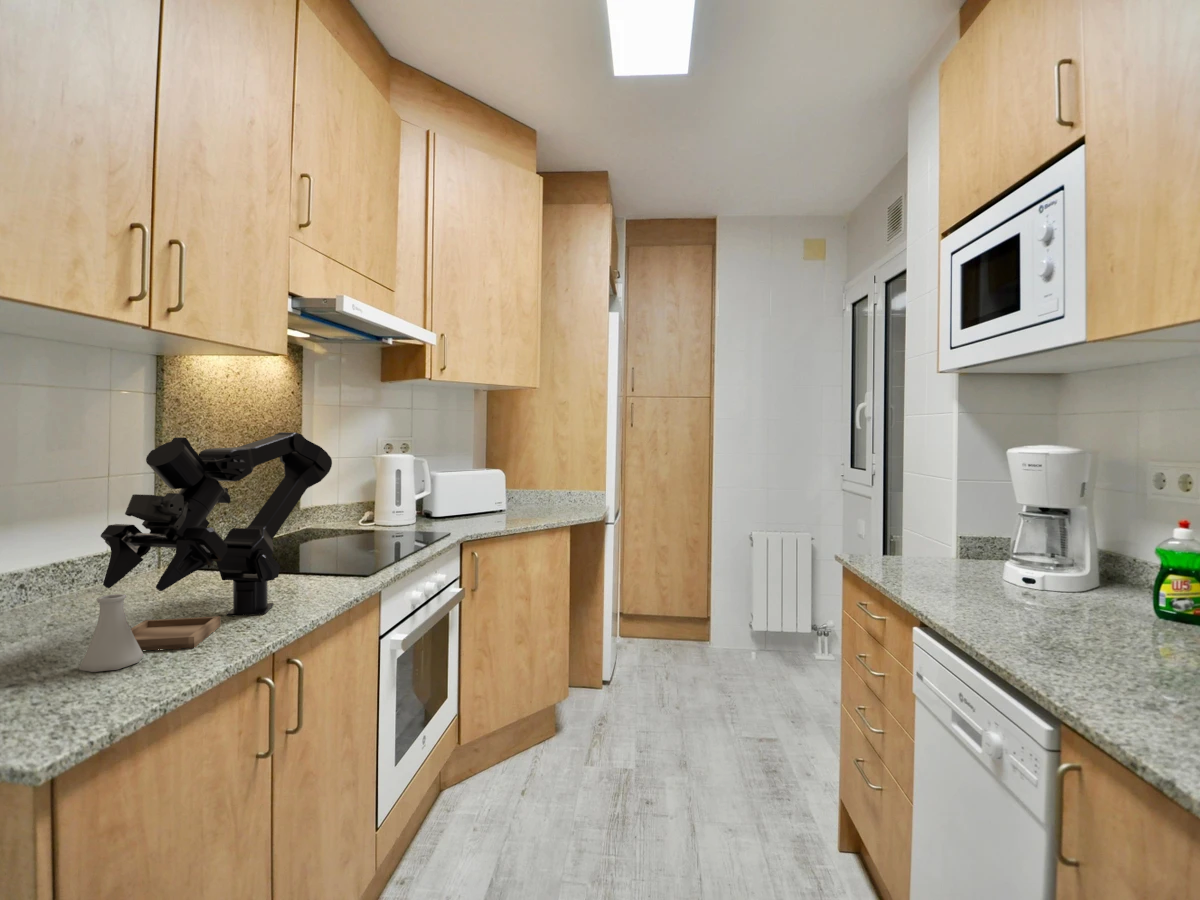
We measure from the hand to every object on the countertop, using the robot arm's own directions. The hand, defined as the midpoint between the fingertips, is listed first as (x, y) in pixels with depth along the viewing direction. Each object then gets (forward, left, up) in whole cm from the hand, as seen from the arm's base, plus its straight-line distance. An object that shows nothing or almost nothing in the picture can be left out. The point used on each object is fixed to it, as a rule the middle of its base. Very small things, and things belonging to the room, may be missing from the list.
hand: (131, 588), depth 95 cm
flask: (+3, -1, -11) cm, 11 cm away
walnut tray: (-8, +2, -10) cm, 13 cm away
